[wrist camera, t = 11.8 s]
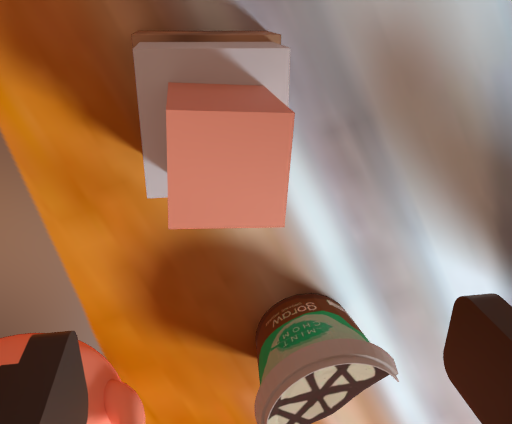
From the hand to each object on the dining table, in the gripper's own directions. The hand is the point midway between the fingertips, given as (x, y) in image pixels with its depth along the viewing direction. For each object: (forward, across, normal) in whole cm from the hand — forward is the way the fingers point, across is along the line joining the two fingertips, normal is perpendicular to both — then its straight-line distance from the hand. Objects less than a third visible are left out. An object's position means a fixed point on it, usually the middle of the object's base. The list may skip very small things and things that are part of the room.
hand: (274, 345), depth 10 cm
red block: (+17, 0, 0) cm, 17 cm away
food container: (+27, -7, +20) cm, 34 cm away
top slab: (+22, 0, -1) cm, 22 cm away
